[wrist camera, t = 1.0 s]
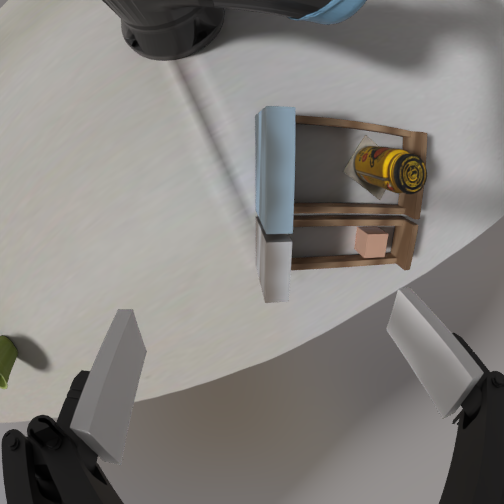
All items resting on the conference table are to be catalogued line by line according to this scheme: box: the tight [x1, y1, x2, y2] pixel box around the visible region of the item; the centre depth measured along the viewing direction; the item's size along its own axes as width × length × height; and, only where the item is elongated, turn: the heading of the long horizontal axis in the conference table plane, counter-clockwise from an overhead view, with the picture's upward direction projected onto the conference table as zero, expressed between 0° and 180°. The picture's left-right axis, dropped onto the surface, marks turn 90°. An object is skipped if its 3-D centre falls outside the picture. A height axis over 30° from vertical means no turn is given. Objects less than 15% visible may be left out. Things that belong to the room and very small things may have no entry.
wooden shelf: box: [255, 106, 427, 234], centre depth 34 cm, size 26×14×11 cm, turn 90°
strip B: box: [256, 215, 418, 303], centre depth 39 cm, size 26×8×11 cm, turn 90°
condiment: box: [343, 135, 427, 200], centre depth 35 cm, size 7×8×12 cm
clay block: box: [354, 226, 388, 258], centre depth 43 cm, size 4×4×4 cm
